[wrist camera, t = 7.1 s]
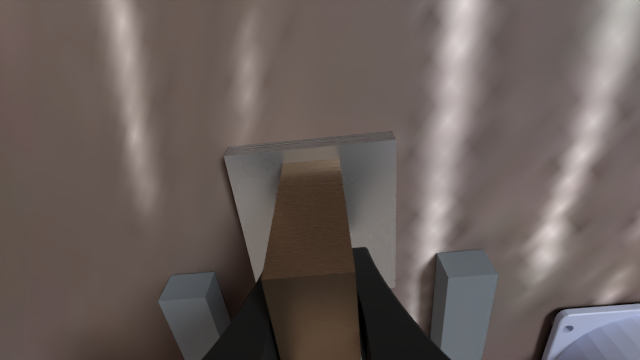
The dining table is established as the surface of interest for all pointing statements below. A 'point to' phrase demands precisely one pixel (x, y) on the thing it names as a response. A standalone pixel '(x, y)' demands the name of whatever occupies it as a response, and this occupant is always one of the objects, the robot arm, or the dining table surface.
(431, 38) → the dining table surface
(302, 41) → the dining table surface
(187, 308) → the tile frame
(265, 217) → the trowel
